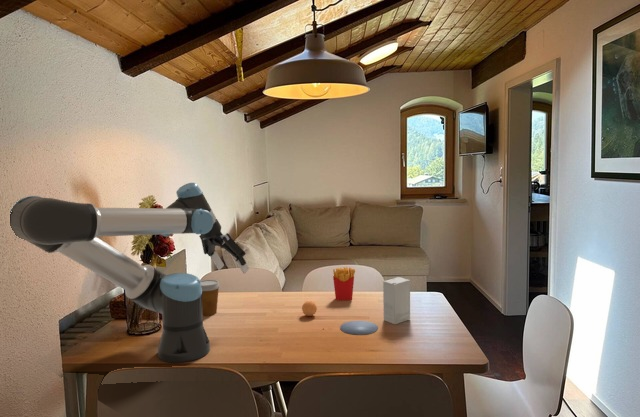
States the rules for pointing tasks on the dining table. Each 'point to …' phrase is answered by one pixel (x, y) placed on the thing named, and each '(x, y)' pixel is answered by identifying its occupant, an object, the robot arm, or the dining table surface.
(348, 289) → the french fries
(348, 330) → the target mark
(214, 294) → the disposable coffee cup
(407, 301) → the skincare box
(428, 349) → the dining table surface
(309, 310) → the ball
